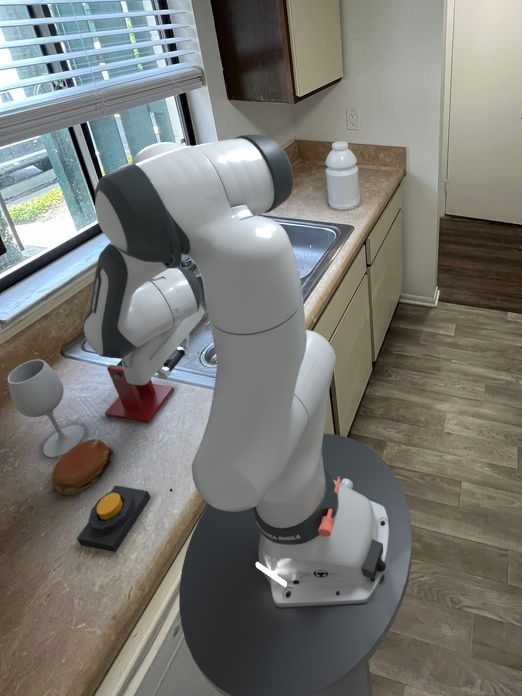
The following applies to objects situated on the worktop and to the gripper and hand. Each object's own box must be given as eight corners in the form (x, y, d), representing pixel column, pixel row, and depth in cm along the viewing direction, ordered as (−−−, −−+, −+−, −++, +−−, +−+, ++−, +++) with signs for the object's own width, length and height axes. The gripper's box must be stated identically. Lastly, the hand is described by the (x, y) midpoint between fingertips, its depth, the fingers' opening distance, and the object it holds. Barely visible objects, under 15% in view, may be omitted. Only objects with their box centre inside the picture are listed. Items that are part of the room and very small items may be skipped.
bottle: (330, 212, 186) (323, 150, 173) (327, 198, 198) (321, 139, 186) (362, 208, 188) (358, 147, 176) (358, 194, 201) (354, 136, 188)
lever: (186, 357, 97) (181, 349, 96) (172, 375, 92) (166, 367, 91) (132, 361, 100) (126, 354, 99) (115, 379, 96) (110, 371, 95)
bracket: (174, 389, 106) (159, 347, 100) (149, 423, 98) (131, 379, 92) (133, 384, 107) (117, 342, 101) (105, 416, 99) (85, 373, 93)
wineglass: (93, 427, 97) (60, 358, 88) (64, 461, 90) (24, 390, 81) (64, 422, 98) (28, 353, 89) (33, 455, 91) (-9, 384, 82)
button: (127, 500, 80) (124, 494, 79) (112, 521, 77) (109, 516, 76) (109, 496, 80) (107, 491, 80) (94, 518, 77) (91, 512, 76)
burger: (45, 498, 84) (36, 484, 82) (74, 451, 92) (67, 437, 90) (99, 493, 84) (91, 479, 82) (123, 447, 93) (116, 433, 91)
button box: (150, 497, 84) (145, 485, 82) (115, 552, 76) (108, 540, 74) (118, 491, 85) (112, 479, 83) (80, 545, 77) (72, 532, 75)
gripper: (135, 355, 79) (156, 407, 85) (200, 284, 97) (214, 332, 103) (104, 351, 80) (127, 403, 86) (175, 282, 98) (190, 329, 104)
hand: (175, 364), depth 94 cm, fingers closed on lever, 5 cm apart
